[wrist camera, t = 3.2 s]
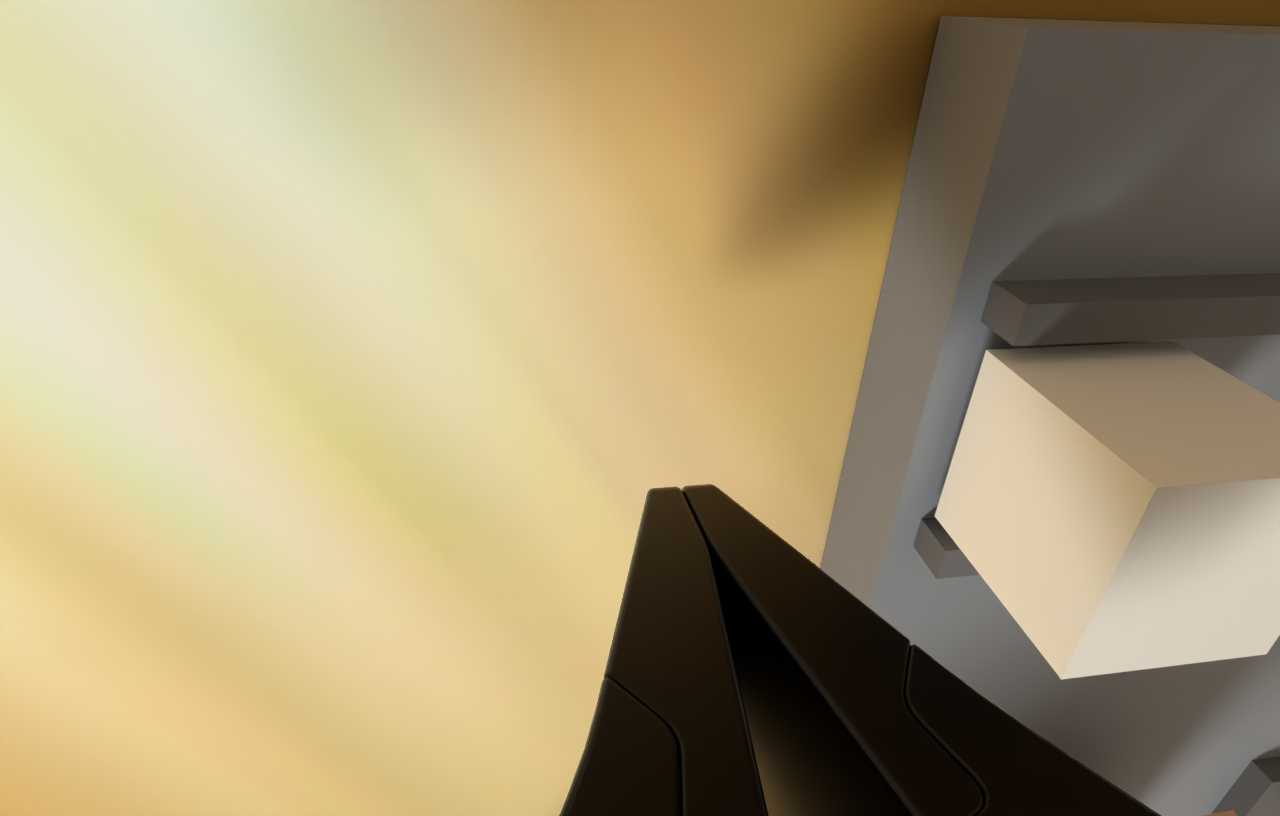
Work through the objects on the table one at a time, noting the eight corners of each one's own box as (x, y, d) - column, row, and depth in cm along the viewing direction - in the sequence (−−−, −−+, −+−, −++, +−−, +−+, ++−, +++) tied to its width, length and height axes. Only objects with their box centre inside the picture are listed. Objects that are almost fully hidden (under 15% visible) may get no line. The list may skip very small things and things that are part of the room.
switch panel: (751, 885, 22) (782, 1001, 20) (940, 14, 10) (1080, 35, 8) (1215, 811, 25) (1294, 906, 22) (1803, 43, 13) (2114, 64, 10)
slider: (934, 515, 12) (1061, 679, 9) (986, 349, 10) (1156, 487, 8) (1100, 502, 12) (1266, 654, 10) (1172, 341, 11) (1394, 468, 8)
